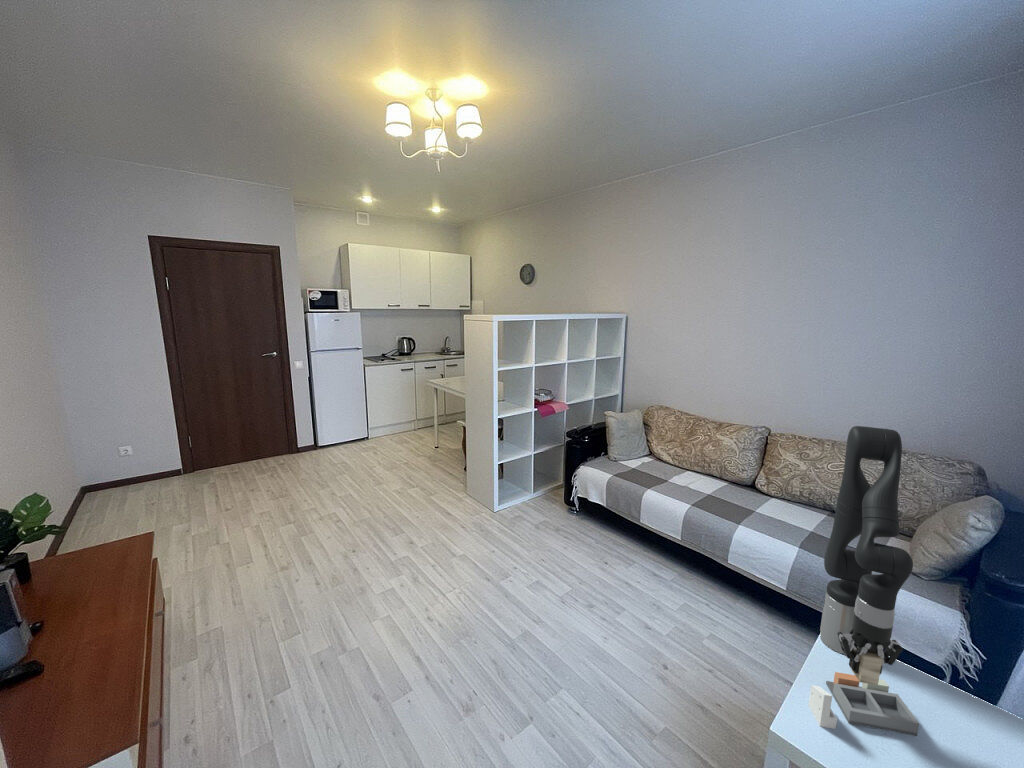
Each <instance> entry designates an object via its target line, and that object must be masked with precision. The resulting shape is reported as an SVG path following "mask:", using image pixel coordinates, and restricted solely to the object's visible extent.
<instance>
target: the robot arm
mask: <svg viewBox="0 0 1024 768" xmlns="http://www.w3.org/2000/svg"><path fill="white" fill-rule="evenodd" d="M902 454H903V441H902V438H901V435H900V434H899V432H898V431H896V430H894V429H889V428H880V427H871V426H865V425H864V426H860V425H856V426H852V427H851V428H850V429H849V432H848V435H847V441H846V448H845V457H844V467H843V473H842V479H841V483H840V486H839V492H838V496H837V501H836V507H835V513H834V514H835V515H834V520H833V526H832V530H831V533H830V536H829V540H828V542H827V543H828V544H827V547H826V548H825V549H826V551H825V552H824V560H823V562H824V563H823V564H824V566H823V567H824V570H825V572H826V573H827V574H828V575H829V576H830V577H833V578H835V579H834V580H833V579H832V580H831V581H829V582H828V583H827V585H826V591H825V599H824V605H823V608H822V613H821V622H820V628H819V631H820V632H819V633H820V634H819V639H820V640H821V641H822V643H823V644H824V645H825V646H827V647H828V648H829V649H831V650H833V651H835V652H837V653H839V654H843V655H845V657H846V658H847V659H849V661H848V666H849V668H850V670H851V669H852V670H853V671H854V673H858V671H859V665H860V662H859V661H860V659H861V656H863V655H865V654H866V652H872V653H876V654H877V656H878V657H881V658H882V664H881V670H880V675H882V673H883V672H882V671H883V666H885V665H887V664H888V666H892V665H894V663H895V662H896V661H897V659H898V658H899V656H900V655H901V654H902V652H903V651H904V649H903V647H902V645H901V644H899V642H898V641H897V640H896V639H892V633H893V628H894V622H895V616H896V615H895V614H896V612H895V608H896V604H897V603H896V602H897V598H898V594H899V591H900V590H901V588H902V586H903V585H904V584H905V582H906V581H907V580H908V579H909V577H910V576H911V574H912V572H913V569H914V563H913V558H912V556H911V555H910V553H909V552H908V551H906V549H904V548H900V547H897V546H894V545H893V546H892V545H887V544H883V543H878V542H875V539H876V538H896V537H898V536H899V534H900V517H899V507H898V501H899V500H898V498H899V496H898V495H899V488H900V478H901V469H902V457H903V456H902ZM863 459H864V460H870V461H871V460H872V461H876V462H877V461H879V462H883V471H882V473H881V474H880V476H879V477H878V479H877V480H876V481H875V482H874V483H873V484H872V485H870V483H869V481H868V480H867V478H866V476H865V473H864V472H863V470H862V468H861V460H863ZM859 536H860V537H859ZM857 537H859V540H858V542H857V545H856V547H855V550H852V549H847V547H848V546H849V544H850V543H851V542H853V540H854V539H856V538H857ZM872 572H875V573H879V574H875V573H874V574H873V573H872ZM820 635H821V636H820ZM852 670H851V671H852ZM853 671H852V672H853ZM854 673H853V674H854Z"/></svg>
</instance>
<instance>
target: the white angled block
mask: <svg viewBox="0 0 1024 768" xmlns="http://www.w3.org/2000/svg"><path fill="white" fill-rule="evenodd" d="M832 702H833V695H832V694H831V693H829V692H827V691H826V690H825V689H823V688H822V687H820V686H818V685H813V684H812V685H810V691H809V700H808V707H809V709H810V711H811V713H812V715H813V716H814V719H815V720H816V722H817V724H818V726H819V727H821V728H828V729H833V730H836V728H837V722H838V718H837V717H836V714H835V713H834V711H833V710H832V708H831V707H832Z"/></svg>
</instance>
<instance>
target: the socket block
mask: <svg viewBox="0 0 1024 768" xmlns="http://www.w3.org/2000/svg"><path fill="white" fill-rule="evenodd" d="M861 683H862V682H861ZM825 685H826V686H827V688H828V690H829V691H830V694H831V695H832V698H833V699H834V700H835V702H836V703H837V706H838V707H839V709H840V710H841V713H842V714H843V716H844V718H845V720H846V722H847V723H848V724H851V725H857V726H861V727H866V728H871V729H878V730H883V731H888V732H893V733H898V734H902V735H903V734H904V735H908V736H913V737H917V736H918V731H919V727H920V722H919V721H918V719H917V718H916V717H915V715H914V714H913V713H912V711H911V710H910V709H909V708H908V706H907V705H906V703H905V702H904V701H903V699H902V698H901V697H900V695H899V693H892V692H889V691H890V686H889V684H888V683H887V681H886V680H885V679H880V678H879V682H878V685H874V684H868V683H862V684H861V686H860V682H859V680H858V679H857V677H856V676H855V674H850V673H843V672H838V671H835V672H834V675H833V681H831V680H830V681H828V680H826V682H825Z"/></svg>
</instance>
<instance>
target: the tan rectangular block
mask: <svg viewBox="0 0 1024 768" xmlns="http://www.w3.org/2000/svg"><path fill="white" fill-rule="evenodd" d="M859 662H860V665H859V671H858V673H854V671H853V670H852V669H851V668H850V670H851V671H852V673H853V675H855V676H856V677H857V679H858V680H859V683H868V684H874V685H878V682H879V679H880V676H881V674H880V670H881V664H882V658H881V657H878V656H877V654H876V653H872V652H866V654H865V655H863V656H861V659H860V661H859Z"/></svg>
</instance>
